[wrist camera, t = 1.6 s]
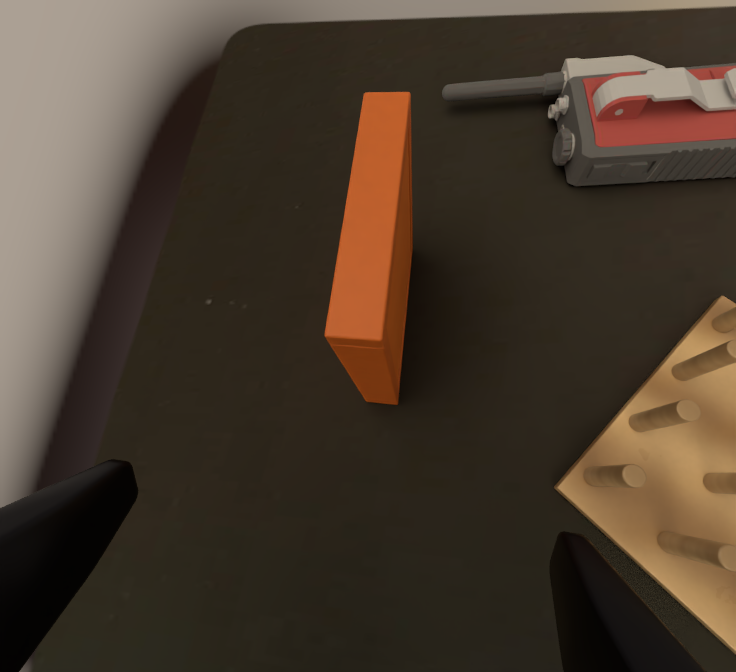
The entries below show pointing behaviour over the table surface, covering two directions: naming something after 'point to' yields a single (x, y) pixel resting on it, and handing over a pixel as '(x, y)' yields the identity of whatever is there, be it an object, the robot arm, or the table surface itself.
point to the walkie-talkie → (631, 118)
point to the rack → (674, 473)
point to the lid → (375, 251)
